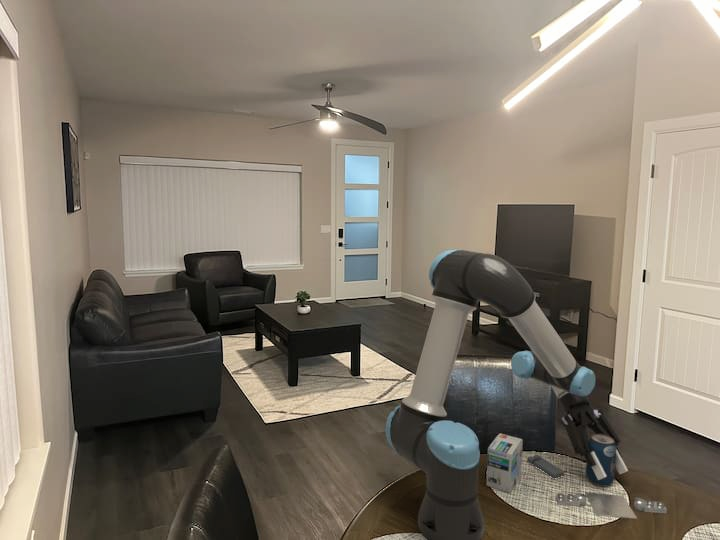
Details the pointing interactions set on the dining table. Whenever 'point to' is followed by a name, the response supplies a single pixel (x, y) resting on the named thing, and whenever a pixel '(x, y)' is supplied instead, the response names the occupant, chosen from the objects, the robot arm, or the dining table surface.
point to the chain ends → (611, 504)
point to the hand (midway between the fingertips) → (613, 475)
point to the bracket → (545, 466)
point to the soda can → (602, 458)
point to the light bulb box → (504, 462)
